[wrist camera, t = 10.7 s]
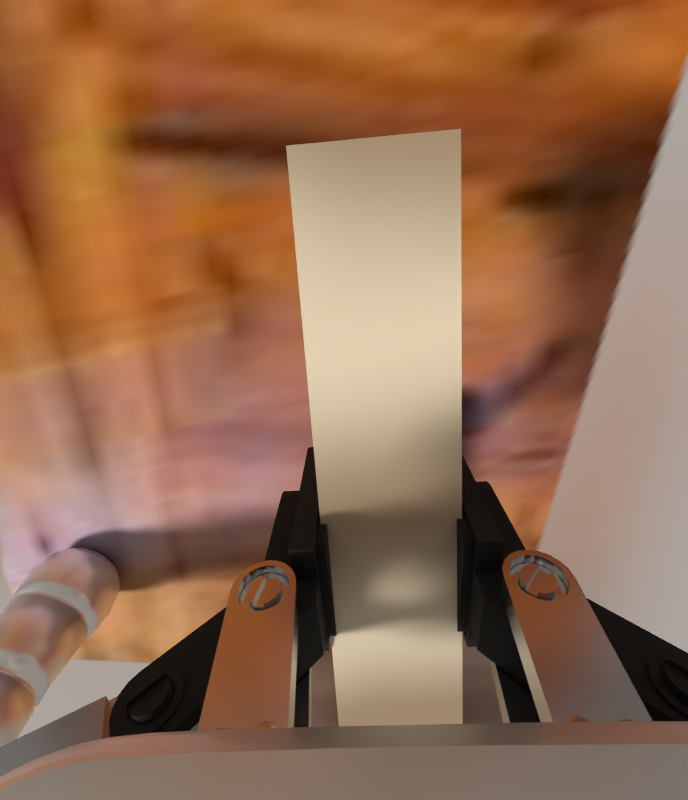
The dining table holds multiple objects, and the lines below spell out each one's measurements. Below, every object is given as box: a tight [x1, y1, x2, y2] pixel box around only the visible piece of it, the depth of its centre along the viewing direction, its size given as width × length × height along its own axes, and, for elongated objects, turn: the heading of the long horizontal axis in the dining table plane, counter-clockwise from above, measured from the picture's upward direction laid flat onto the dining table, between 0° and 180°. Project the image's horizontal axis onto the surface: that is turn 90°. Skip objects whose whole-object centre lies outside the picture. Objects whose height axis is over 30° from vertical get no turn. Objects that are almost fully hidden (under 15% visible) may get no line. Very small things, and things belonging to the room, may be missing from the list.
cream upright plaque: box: [286, 129, 503, 727], centre depth 10 cm, size 14×8×5 cm, turn 5°
